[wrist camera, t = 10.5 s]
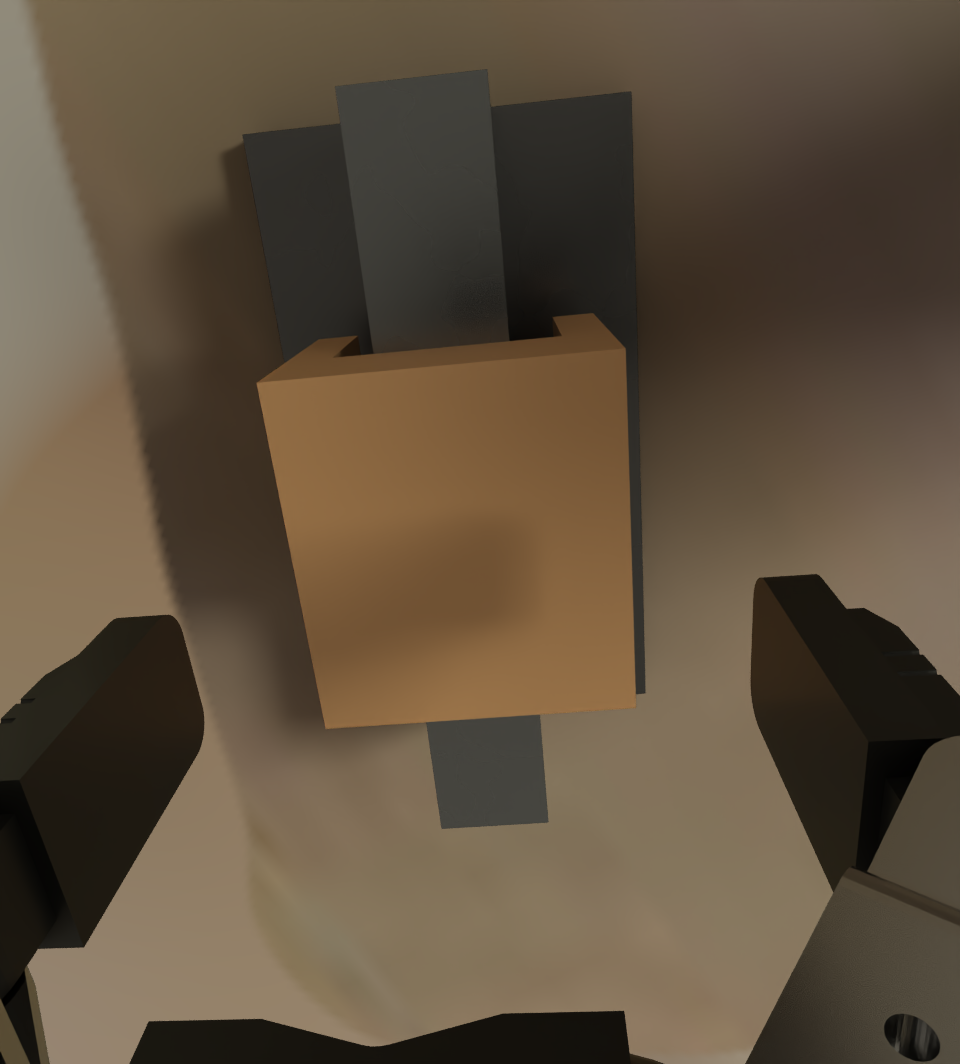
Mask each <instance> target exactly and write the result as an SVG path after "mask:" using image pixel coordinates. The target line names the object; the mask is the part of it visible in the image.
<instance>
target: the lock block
mask: <svg viewBox="0 0 960 1064" xmlns="http://www.w3.org/2000/svg"><path fill="white" fill-rule="evenodd" d="M553 334H554V337H548V338H538V339H527V340H517V341H506V342H495V343H485V344H474V345H464V346H453V347H442V348H432V349H421V350H411V351H400V352H389V353H379V354H368V355H361V353H360V346H359V339H358V336H348V337H338V338H327V339H319V340H317V341H316V342H314V343H313V344H311V345H310V346H309V347H307V348H306V349H304V350H303V351H301V352H300V353H299V354H297V355H296V356H294V357H293V358H291V359H290V360H288V361H287V362H286V363H284V364H283V365H281V366H280V367H278V368H277V369H276V370H274V371H273V372H271V373H270V374H268V375H267V376H266V377H264V378H263V379H261V380H260V381H258V382H257V388H258V393H259V398H260V403H261V408H262V413H263V418H264V423H265V428H266V433H267V438H268V443H269V448H270V453H271V458H272V463H273V468H274V473H275V478H276V483H277V488H278V493H279V498H280V503H281V508H282V513H283V518H284V523H285V528H286V533H287V538H288V543H289V548H290V553H291V558H292V563H293V568H294V573H295V578H296V583H297V588H298V593H299V598H300V603H301V608H302V613H303V618H304V623H305V628H306V633H307V638H308V643H309V648H310V653H311V658H312V663H313V668H314V673H315V678H316V683H317V688H318V693H319V698H320V703H321V708H322V713H323V718H324V723H325V728H326V729H332V728H347V727H362V726H377V725H392V724H406V723H421V722H436V721H451V720H466V719H480V718H495V717H510V716H525V715H540V714H555V713H569V712H584V711H599V710H614V709H629V708H636V688H635V654H634V619H633V585H632V550H631V516H630V481H629V447H628V412H627V378H626V348H625V347H624V346H623V345H622V344H621V343H620V342H619V341H618V340H617V339H616V337H615V336H614V335H613V334H612V333H611V332H610V331H609V330H608V329H607V328H606V327H605V326H604V324H603V323H602V322H601V321H600V320H599V319H598V318H597V317H596V316H595V315H594V314H593V313H588V314H578V315H567V316H557V317H553Z"/></svg>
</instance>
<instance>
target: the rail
mask: <svg viewBox="0 0 960 1064" xmlns="http://www.w3.org/2000/svg"><path fill="white" fill-rule="evenodd" d="M335 89H336V96H337V103H338V110H339V117H340V124H334V125H325V126H316V127H307V128H298V129H289V130H280V131H271V132H262V133H253V134H244V135H243V140H244V146H245V151H246V156H247V162H248V167H249V173H250V178H251V183H252V189H253V194H254V200H255V205H256V211H257V216H258V221H259V227H260V232H261V238H262V243H263V248H264V254H265V259H266V265H267V270H268V276H269V281H270V286H271V292H272V297H273V303H274V308H275V313H276V319H277V324H278V330H279V335H280V341H281V346H282V351H283V357H284V362H285V363H286V362H287V361H288V360H290V359H291V358H293V357H294V356H296V355H297V354H299V353H300V352H301V351H303V350H304V349H306V348H307V347H309V346H310V345H311V344H313V343H314V342H316V341H317V340H319V339H327V338H338V337H348V336H358V339H359V346H360V353H361V355H368V354H379V353H389V352H400V351H411V350H421V349H432V348H442V347H453V346H464V345H474V344H485V343H495V342H506V341H517V340H527V339H538V338H548V337H554V334H553V317H557V316H567V315H578V314H588V313H593V314H594V315H595V316H596V317H597V318H598V319H599V320H600V321H601V322H602V323H603V324H604V326H605V327H606V328H607V329H608V330H609V331H610V332H611V333H612V334H613V335H614V336H615V337H616V339H617V340H618V341H619V342H620V343H621V344H622V345H623V346H624V347H625V348H626V378H627V412H628V447H629V481H630V516H631V550H632V585H633V619H634V654H635V688H636V694H643V693H645V651H644V609H643V566H642V523H641V480H640V437H639V394H638V352H637V309H636V266H635V223H634V180H633V137H632V95H631V92H622V93H613V94H604V95H595V96H586V97H577V98H568V99H559V100H550V101H541V102H532V103H523V104H514V105H505V106H496V107H491V106H490V94H489V83H488V72H487V69H485V70H476V71H467V72H458V73H450V74H441V75H432V76H423V77H414V78H406V79H397V80H388V81H379V82H370V83H362V84H353V85H344V86H335ZM426 724H427V731H428V738H429V744H430V751H431V758H432V765H433V772H434V779H435V786H436V793H437V800H438V807H439V814H440V821H441V828H442V829H447V828H463V827H480V826H497V825H514V824H531V823H547V822H548V811H547V799H546V786H545V773H544V761H543V748H542V735H541V723H540V715H525V716H510V717H495V718H480V719H466V720H451V721H436V722H426Z"/></svg>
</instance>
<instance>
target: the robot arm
mask: <svg viewBox="0 0 960 1064" xmlns="http://www.w3.org/2000/svg"><path fill="white" fill-rule="evenodd" d="M751 696H752V703H753V709H754V714H755V717H756V721H757V724H758V727H759V729H760V731H761V733H762V736H763V738H764V740H765V742H766V745H767V747H768V749H769V751H770V753H771V756H772V758H773V760H774V762H775V764H776V767H777V769H778V771H779V773H780V776H781V778H782V780H783V782H784V784H785V787H786V789H787V791H788V793H789V795H790V798H791V800H792V802H793V804H794V806H795V809H796V811H797V813H798V815H799V818H800V820H801V822H802V824H803V826H804V829H805V831H806V833H807V835H808V837H809V840H810V842H811V844H812V846H813V849H814V851H815V853H816V855H817V857H818V860H819V862H820V864H821V866H822V868H823V871H824V873H825V875H826V877H827V879H828V882H829V884H830V886H831V888H832V891H833V894H832V896H831V898H830V900H829V902H828V904H827V906H826V908H825V910H824V912H823V914H822V916H821V918H820V920H819V922H818V924H817V926H816V927H815V929H814V931H813V933H812V935H811V937H810V939H809V941H808V943H807V945H806V947H805V949H804V951H803V953H802V955H801V957H800V959H799V961H798V962H797V964H796V966H795V968H794V970H793V972H792V974H791V976H790V978H789V980H788V982H787V984H786V986H785V988H784V990H783V992H782V994H781V995H780V997H779V999H778V1001H777V1003H776V1005H775V1007H774V1009H773V1011H772V1013H771V1015H770V1017H769V1019H768V1021H767V1023H766V1025H765V1027H764V1028H763V1030H762V1032H761V1034H760V1036H759V1038H758V1040H757V1042H756V1044H755V1046H754V1048H753V1050H752V1052H751V1054H750V1056H749V1058H748V1060H747V1061H746V1063H745V1064H960V696H959V694H958V693H957V692H956V691H955V690H954V689H953V688H952V687H951V685H950V684H949V683H948V682H947V681H946V680H945V679H944V678H943V676H942V675H937V672H936V669H935V667H934V666H933V665H932V664H931V663H930V662H929V661H928V660H927V658H926V657H925V656H924V655H920V654H919V649H918V648H917V647H916V646H915V645H914V644H913V643H912V642H911V640H910V639H909V638H908V637H907V636H906V635H905V634H904V633H903V631H902V630H901V629H900V628H899V627H898V626H896V625H894V624H892V623H891V622H889V621H887V620H885V619H883V618H881V617H880V616H878V615H876V614H874V613H872V612H870V611H869V610H867V609H865V608H855V609H846V608H845V607H844V605H843V604H842V603H841V602H840V600H839V599H838V598H837V597H836V595H835V594H834V593H833V592H832V590H831V589H830V588H829V587H828V585H827V584H826V583H825V582H824V580H823V579H822V578H821V577H820V576H819V575H817V574H811V575H795V576H780V577H764V578H759V579H758V580H757V581H756V584H755V588H754V598H753V624H752V652H751ZM203 734H204V712H203V707H202V703H201V699H200V696H199V692H198V688H197V684H196V681H195V677H194V673H193V669H192V666H191V662H190V658H189V655H188V651H187V647H186V643H185V640H184V636H183V632H182V629H181V627H180V625H179V623H178V621H177V620H176V619H175V618H174V617H173V616H171V615H158V616H142V617H128V618H116V619H114V620H113V621H111V622H110V623H109V624H108V625H107V626H106V628H104V629H103V630H102V631H101V632H100V633H99V634H98V635H97V636H96V638H95V639H94V640H93V641H92V642H91V643H90V644H89V645H88V646H87V647H86V648H85V649H84V650H83V651H82V652H81V653H80V654H79V655H77V656H76V657H74V658H73V659H71V660H69V661H68V662H66V663H64V664H63V665H61V666H60V667H58V668H56V669H55V670H53V671H52V672H50V673H48V674H46V675H45V676H44V677H43V678H42V679H41V680H40V681H39V682H38V683H37V684H36V685H35V686H34V687H32V689H31V690H29V691H28V692H27V694H25V695H24V696H23V698H21V704H15V705H14V706H13V707H12V708H11V709H10V710H9V711H8V712H7V713H6V714H5V715H4V716H3V717H2V718H1V724H0V1064H50V1063H49V1057H48V1052H47V1047H46V1041H45V1036H44V1031H43V1025H42V1019H41V1013H40V1008H39V1002H38V997H37V991H36V986H35V983H34V980H33V978H32V976H31V973H30V971H29V968H28V966H27V965H28V963H29V962H30V960H31V959H32V957H33V956H34V954H35V953H36V951H37V949H45V948H76V947H77V948H79V947H84V946H85V945H86V943H87V941H88V940H89V938H90V936H91V935H92V933H93V931H94V929H95V928H96V926H97V924H98V923H99V921H100V919H101V918H102V916H103V914H104V912H105V910H106V909H107V907H108V905H109V904H110V902H111V901H112V899H113V897H114V895H115V894H116V892H117V890H118V889H119V887H120V885H121V883H122V882H123V880H124V878H125V877H126V875H127V873H128V872H129V870H130V868H131V867H132V865H133V863H134V861H135V860H136V858H137V856H138V855H139V853H140V851H141V850H142V848H143V846H144V844H145V843H146V841H147V839H148V838H149V836H150V834H151V833H152V831H153V829H154V827H155V826H156V824H157V822H158V821H159V819H160V817H161V816H162V814H163V812H164V810H165V809H166V807H167V805H168V804H169V802H170V800H171V798H172V797H173V795H174V793H175V792H176V790H177V788H178V787H179V785H180V783H181V781H182V780H183V778H184V776H185V775H186V773H187V771H188V770H189V768H190V766H191V764H192V763H193V761H194V759H195V758H196V756H197V754H198V752H199V750H200V747H201V744H202V740H203ZM130 1064H663V1063H660V1062H658V1061H655V1060H652V1059H648V1058H644V1057H641V1056H637V1055H633V1054H630V1053H629V1045H628V1037H627V1030H626V1022H625V1014H624V1011H601V1012H556V1013H511V1014H500V1015H496V1016H493V1017H489V1018H485V1019H482V1020H478V1021H474V1022H471V1023H467V1024H463V1025H460V1026H456V1027H452V1028H448V1029H445V1030H441V1031H437V1032H434V1033H430V1034H426V1035H423V1036H419V1037H415V1038H412V1039H408V1040H404V1041H401V1042H397V1043H393V1044H390V1045H385V1046H375V1047H370V1046H364V1045H360V1044H356V1043H352V1042H348V1041H344V1040H340V1039H336V1038H333V1037H329V1036H325V1035H321V1034H317V1033H313V1032H309V1031H306V1030H302V1029H298V1028H294V1027H290V1026H286V1025H282V1024H279V1023H275V1022H271V1021H267V1020H263V1019H240V1020H198V1021H197V1020H196V1021H195V1020H193V1021H149V1022H148V1024H147V1027H146V1029H145V1031H144V1033H143V1035H142V1037H141V1040H140V1042H139V1044H138V1046H137V1048H136V1051H135V1053H134V1055H133V1057H132V1059H131V1061H130Z"/></svg>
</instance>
